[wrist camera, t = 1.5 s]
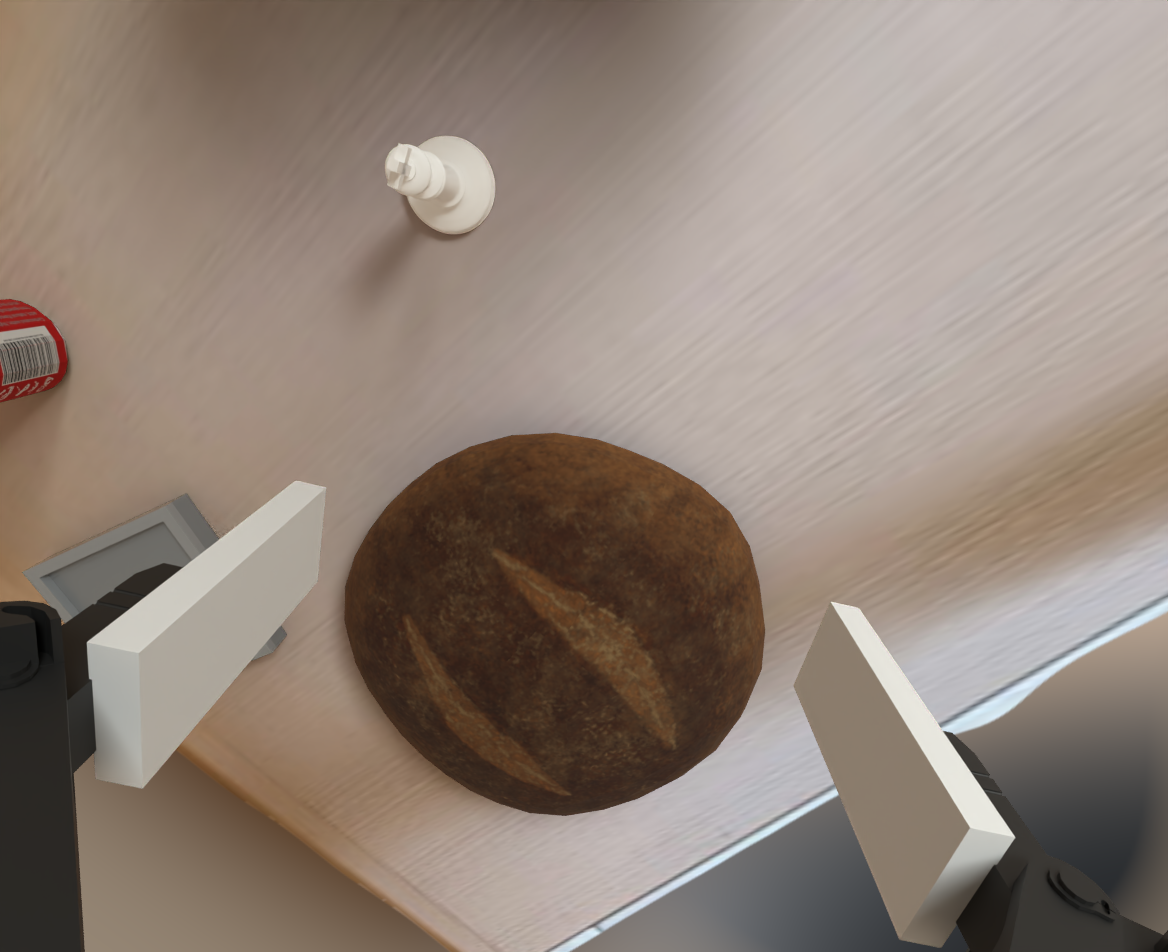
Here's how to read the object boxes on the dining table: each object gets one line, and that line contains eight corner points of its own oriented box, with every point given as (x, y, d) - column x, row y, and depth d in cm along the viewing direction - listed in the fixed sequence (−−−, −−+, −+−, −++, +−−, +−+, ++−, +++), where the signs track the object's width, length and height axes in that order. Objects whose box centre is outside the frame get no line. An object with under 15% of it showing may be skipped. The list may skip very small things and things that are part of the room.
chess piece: (395, 212, 35) (318, 200, 26) (421, 120, 33) (349, 71, 24) (478, 248, 35) (432, 250, 26) (508, 159, 34) (470, 126, 24)
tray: (48, 557, 43) (21, 572, 42) (186, 493, 41) (165, 506, 39) (155, 687, 47) (135, 706, 45) (286, 634, 45) (272, 652, 43)
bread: (594, 331, 37) (590, 355, 29) (832, 639, 44) (883, 730, 36) (276, 585, 44) (201, 663, 36) (525, 817, 51) (510, 927, 43)
